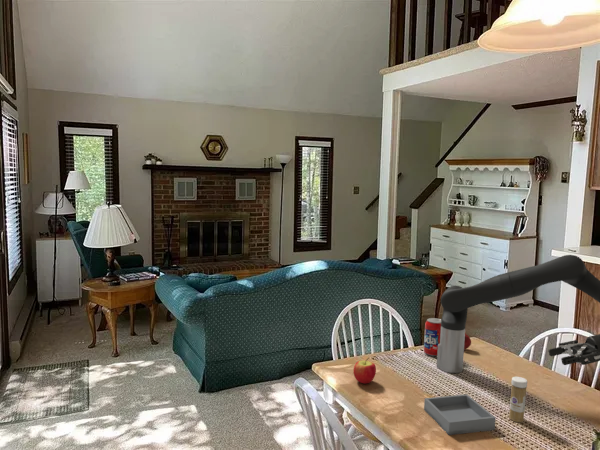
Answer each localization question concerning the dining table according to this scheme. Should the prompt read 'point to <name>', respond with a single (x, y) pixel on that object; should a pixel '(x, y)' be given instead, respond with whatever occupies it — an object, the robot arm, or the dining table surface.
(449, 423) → the bin
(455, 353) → the robot arm
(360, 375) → the apple
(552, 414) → the dining table surface
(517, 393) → the sprinkles bottle
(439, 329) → the soda can
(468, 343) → the onion
